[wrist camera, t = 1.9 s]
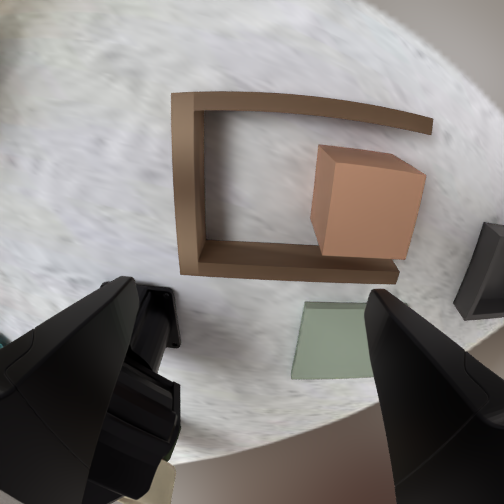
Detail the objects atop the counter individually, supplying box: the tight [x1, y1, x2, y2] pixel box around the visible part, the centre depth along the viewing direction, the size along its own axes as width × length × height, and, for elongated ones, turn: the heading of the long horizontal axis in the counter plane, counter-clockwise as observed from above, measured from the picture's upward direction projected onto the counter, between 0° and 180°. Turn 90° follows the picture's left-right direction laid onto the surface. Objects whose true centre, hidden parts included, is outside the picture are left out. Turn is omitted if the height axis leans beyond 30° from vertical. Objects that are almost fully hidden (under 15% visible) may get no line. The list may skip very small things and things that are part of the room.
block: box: [310, 145, 426, 260], centre depth 17 cm, size 5×5×5 cm
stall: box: [171, 91, 433, 284], centre depth 18 cm, size 11×14×3 cm
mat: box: [291, 302, 408, 379], centre depth 26 cm, size 9×9×1 cm
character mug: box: [117, 426, 181, 504], centre depth 29 cm, size 11×7×13 cm, turn 7°
